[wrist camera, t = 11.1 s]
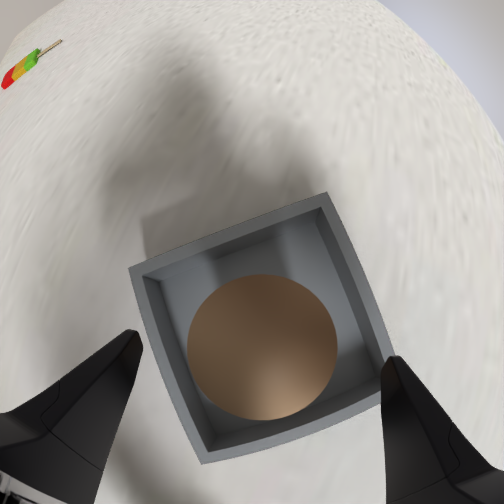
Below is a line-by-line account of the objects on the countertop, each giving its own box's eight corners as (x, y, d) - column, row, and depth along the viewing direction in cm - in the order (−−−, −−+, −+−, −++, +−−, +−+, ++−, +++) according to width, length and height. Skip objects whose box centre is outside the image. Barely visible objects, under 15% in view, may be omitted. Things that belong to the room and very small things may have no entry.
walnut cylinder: (272, 384, 18) (272, 445, 8) (214, 339, 19) (159, 356, 9) (319, 327, 19) (366, 333, 9) (261, 282, 20) (249, 244, 10)
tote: (211, 444, 17) (201, 464, 14) (149, 276, 21) (128, 268, 17) (385, 379, 18) (405, 389, 14) (318, 211, 21) (326, 191, 18)
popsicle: (9, 78, 33) (4, 73, 31) (64, 37, 33) (60, 31, 31) (3, 92, 32) (-1, 87, 30) (61, 48, 32) (57, 42, 30)
